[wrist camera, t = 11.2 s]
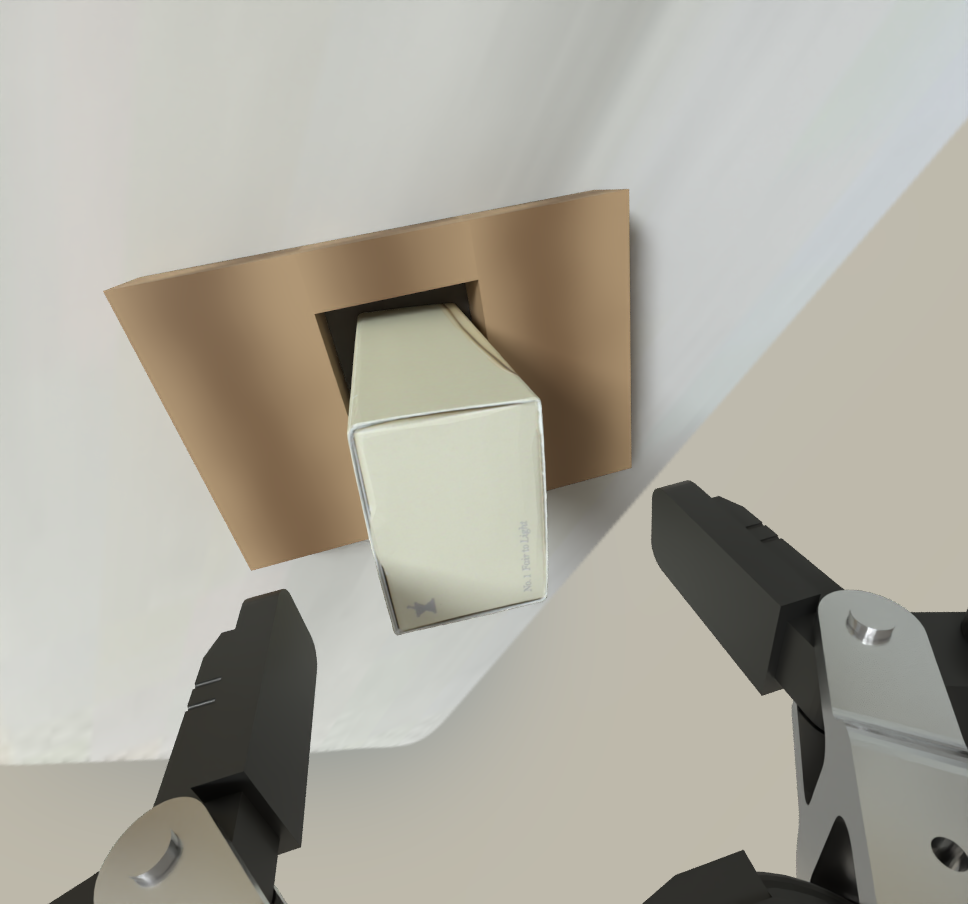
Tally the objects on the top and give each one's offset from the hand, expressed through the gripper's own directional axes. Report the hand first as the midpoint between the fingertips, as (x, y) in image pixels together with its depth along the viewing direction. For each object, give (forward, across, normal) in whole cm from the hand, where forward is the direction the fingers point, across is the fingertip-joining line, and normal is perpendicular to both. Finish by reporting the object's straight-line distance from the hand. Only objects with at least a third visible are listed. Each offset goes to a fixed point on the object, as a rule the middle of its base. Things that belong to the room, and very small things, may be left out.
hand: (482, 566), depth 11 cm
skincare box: (+14, 0, 0) cm, 14 cm away
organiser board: (+13, 0, 0) cm, 13 cm away
